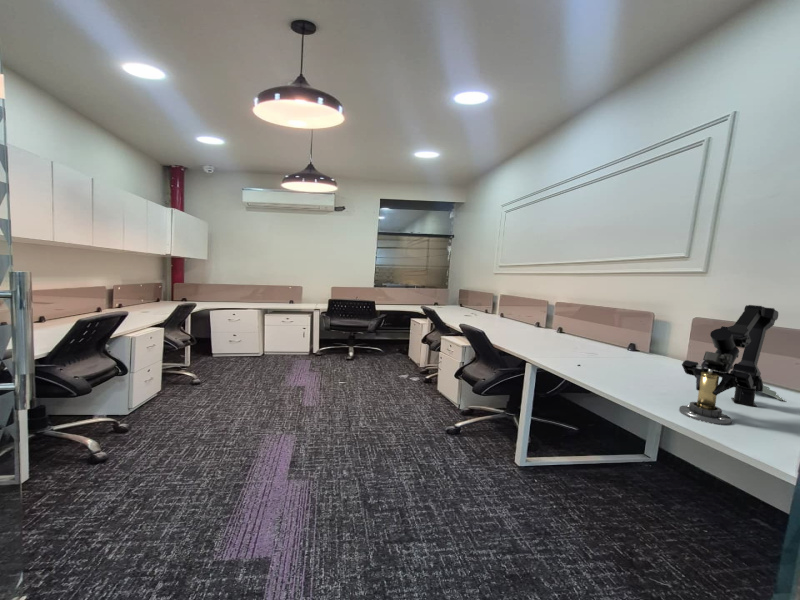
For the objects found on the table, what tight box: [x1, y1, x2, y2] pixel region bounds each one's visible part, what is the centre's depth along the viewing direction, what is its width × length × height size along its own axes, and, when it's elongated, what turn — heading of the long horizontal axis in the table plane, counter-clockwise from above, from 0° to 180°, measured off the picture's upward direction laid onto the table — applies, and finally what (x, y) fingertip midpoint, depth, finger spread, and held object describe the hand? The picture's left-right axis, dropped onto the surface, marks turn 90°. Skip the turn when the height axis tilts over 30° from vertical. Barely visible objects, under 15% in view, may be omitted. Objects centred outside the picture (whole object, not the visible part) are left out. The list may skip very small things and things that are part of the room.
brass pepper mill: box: [696, 369, 720, 410], centre depth 124 cm, size 5×5×14 cm
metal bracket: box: [755, 384, 786, 402], centre depth 154 cm, size 14×6×15 cm
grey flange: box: [678, 401, 733, 426], centre depth 124 cm, size 14×14×4 cm
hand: (705, 392), depth 123 cm, fingers closed on brass pepper mill, 5 cm apart
